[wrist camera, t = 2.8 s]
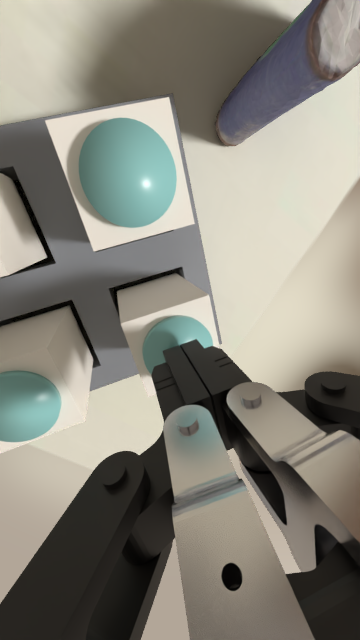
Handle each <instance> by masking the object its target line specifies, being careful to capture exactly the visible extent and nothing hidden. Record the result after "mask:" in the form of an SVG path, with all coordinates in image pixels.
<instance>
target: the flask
mask: <svg viewBox="0 0 360 640" xmlns="http://www.w3.org/2000/svg"><path fill="white" fill-rule="evenodd" d="M359 63H360V0H312V1H311V3H310V4H309V5H308V6H307V7H306V8H305V9H304V10H303V11H302V12H301V13H300V14H299V15H298V16H297V17H296V18H295V20H294V21H293V22H292V23H291V24H290V26H289V27H288V28H287V29H286V30H285V31H284V32H283V33H282V34H281V35H280V36H279V37H278V39H277V40H276V41H275V42H274V43H273V44H272V45H271V46H270V47H269V48H268V49H267V50H266V52H265V53H264V54H263V55H262V56H261V57H259V59H257V62H256V63H255V64H254V65H253V66H252V67H251V68H250V70H249V71H248V72H247V73H246V74H245V75H244V76H243V78H242V79H241V80H240V82H239V83H238V85H237V86H236V87H235V88H234V89H233V91H232V92H231V93H230V94H229V96H228V98H227V99H226V100H225V101H224V103H223V105H222V106H221V109H220V110H219V112H218V114H217V117H216V118H217V120H216V122H215V126H216V132H217V136H218V137H220V140H221V141H222V142H223V143H224V144H225V146H236V145H238V144H240V143H242V142H243V141H244V140H245V139H246V138H248V137H250V136H251V135H253V134H254V133H256V132H257V131H259V130H260V129H261V128H263V127H264V126H266V125H267V124H269V123H270V122H272V121H273V120H275V119H276V118H278V117H279V116H281V115H282V114H284V113H285V112H287V111H289V110H290V109H292V108H293V107H295V106H297V105H299V104H300V103H302V102H303V101H305V100H306V99H308V98H309V97H311V96H312V95H314V94H316V93H318V92H320V91H322V90H323V89H324V88H325V87H327V86H329V85H330V84H332V83H334V82H336V81H338V80H340V79H341V78H342V77H343V76H345V75H346V74H347V73H348V72H350V71H351V70H352V68H353V67H355V66H357V65H358V64H359ZM217 128H218V129H217ZM218 132H219V135H218Z"/></svg>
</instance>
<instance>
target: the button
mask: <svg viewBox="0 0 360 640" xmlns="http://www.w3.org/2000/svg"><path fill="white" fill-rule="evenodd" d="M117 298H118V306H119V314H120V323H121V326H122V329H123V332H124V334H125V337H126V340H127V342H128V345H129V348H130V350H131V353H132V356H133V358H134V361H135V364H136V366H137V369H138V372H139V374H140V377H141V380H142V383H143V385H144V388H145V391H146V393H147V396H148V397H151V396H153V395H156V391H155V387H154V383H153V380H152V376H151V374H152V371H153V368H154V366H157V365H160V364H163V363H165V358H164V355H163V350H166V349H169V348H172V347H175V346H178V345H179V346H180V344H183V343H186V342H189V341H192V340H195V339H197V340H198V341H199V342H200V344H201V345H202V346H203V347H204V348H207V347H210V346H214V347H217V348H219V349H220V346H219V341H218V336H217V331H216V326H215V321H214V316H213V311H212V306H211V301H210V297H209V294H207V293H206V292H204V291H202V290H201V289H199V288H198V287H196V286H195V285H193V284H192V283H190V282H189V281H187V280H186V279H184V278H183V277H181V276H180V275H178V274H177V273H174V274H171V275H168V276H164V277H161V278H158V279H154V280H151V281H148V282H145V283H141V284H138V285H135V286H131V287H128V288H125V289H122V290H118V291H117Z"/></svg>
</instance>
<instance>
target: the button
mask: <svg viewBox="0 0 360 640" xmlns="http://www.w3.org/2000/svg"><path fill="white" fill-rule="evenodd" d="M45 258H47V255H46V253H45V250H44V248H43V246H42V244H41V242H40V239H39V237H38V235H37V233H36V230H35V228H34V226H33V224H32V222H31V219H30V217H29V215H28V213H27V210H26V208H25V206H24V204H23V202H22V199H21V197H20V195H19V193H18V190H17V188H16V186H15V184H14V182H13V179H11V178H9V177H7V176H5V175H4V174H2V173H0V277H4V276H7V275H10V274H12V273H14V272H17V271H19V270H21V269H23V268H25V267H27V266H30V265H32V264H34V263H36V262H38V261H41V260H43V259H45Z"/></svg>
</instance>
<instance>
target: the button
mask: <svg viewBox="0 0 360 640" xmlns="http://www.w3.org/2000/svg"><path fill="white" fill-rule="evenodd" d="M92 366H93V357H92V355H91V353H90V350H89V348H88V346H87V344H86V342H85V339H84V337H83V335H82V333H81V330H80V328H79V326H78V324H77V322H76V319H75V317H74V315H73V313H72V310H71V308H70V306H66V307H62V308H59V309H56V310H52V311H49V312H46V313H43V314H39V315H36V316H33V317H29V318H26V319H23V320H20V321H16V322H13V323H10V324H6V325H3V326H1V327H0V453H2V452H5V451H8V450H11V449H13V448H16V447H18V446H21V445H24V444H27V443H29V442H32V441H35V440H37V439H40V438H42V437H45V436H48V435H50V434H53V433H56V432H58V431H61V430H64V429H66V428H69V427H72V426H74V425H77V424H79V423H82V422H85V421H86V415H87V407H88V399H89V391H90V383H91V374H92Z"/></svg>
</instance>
